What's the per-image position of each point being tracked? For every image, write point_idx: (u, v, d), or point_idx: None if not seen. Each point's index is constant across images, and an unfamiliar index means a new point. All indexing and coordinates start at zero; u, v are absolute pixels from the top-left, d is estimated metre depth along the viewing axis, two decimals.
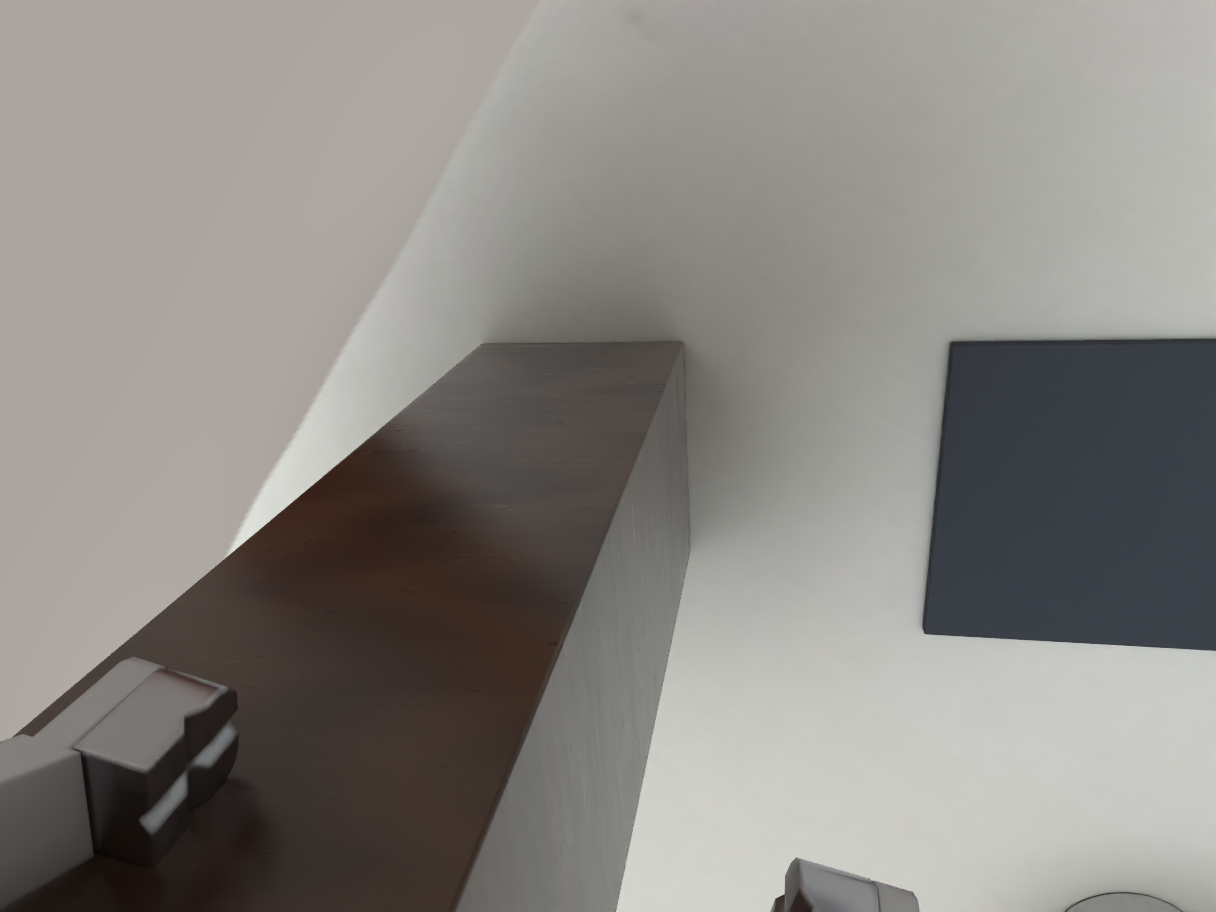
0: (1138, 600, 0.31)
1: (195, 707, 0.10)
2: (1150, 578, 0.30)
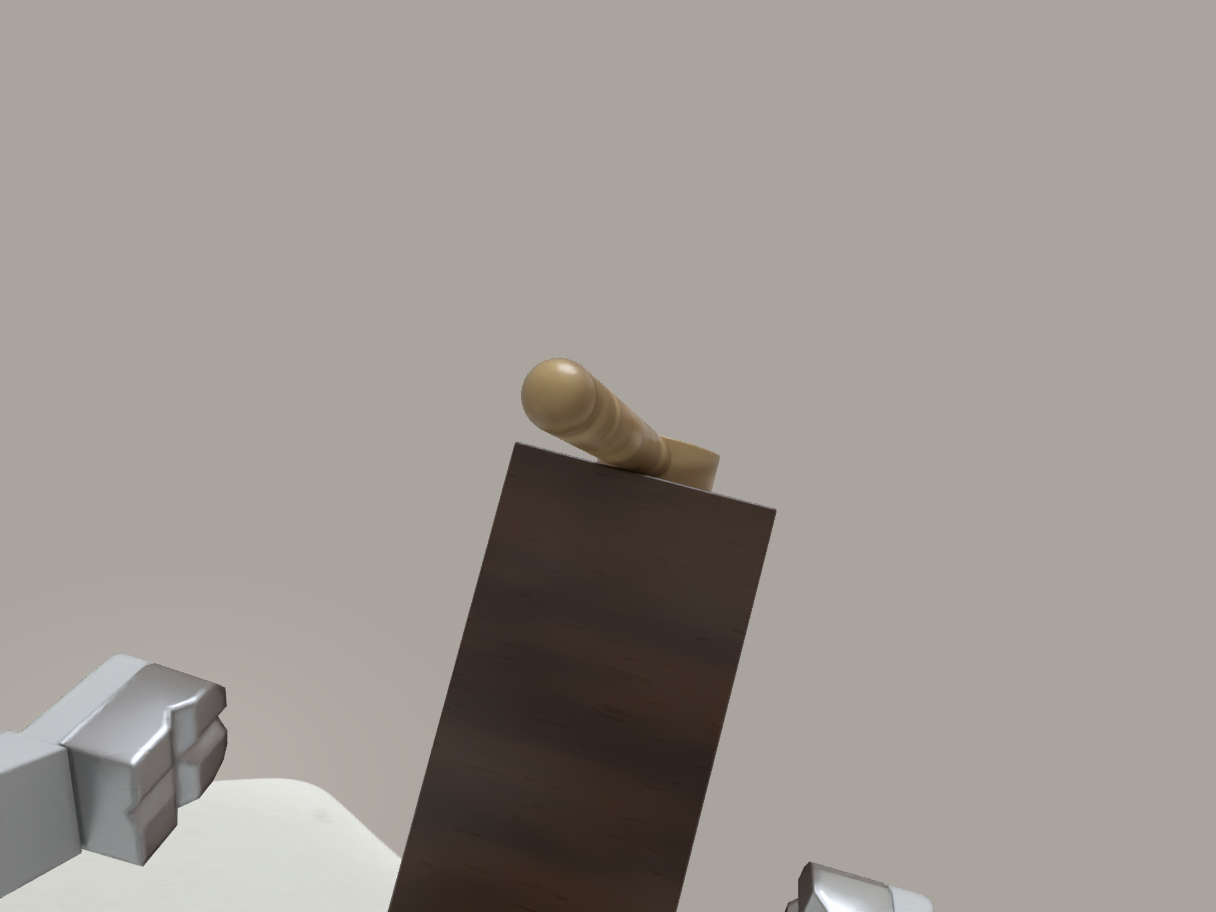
0: None
1: (182, 704, 0.10)
2: None
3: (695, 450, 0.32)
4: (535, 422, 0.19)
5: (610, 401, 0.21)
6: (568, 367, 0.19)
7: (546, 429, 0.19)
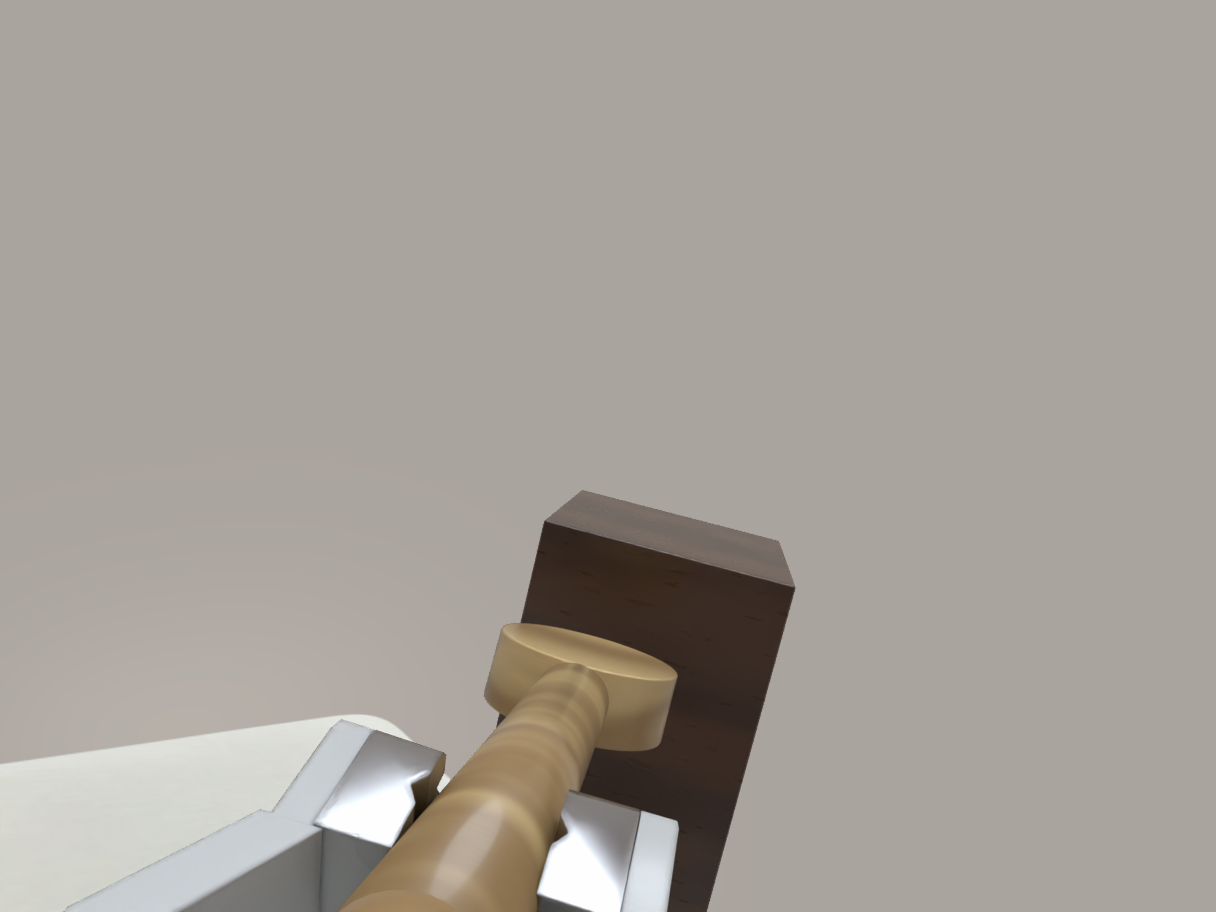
0: None
1: (419, 776, 0.10)
2: None
3: (646, 686, 0.20)
4: None
5: (531, 900, 0.09)
6: None
7: None
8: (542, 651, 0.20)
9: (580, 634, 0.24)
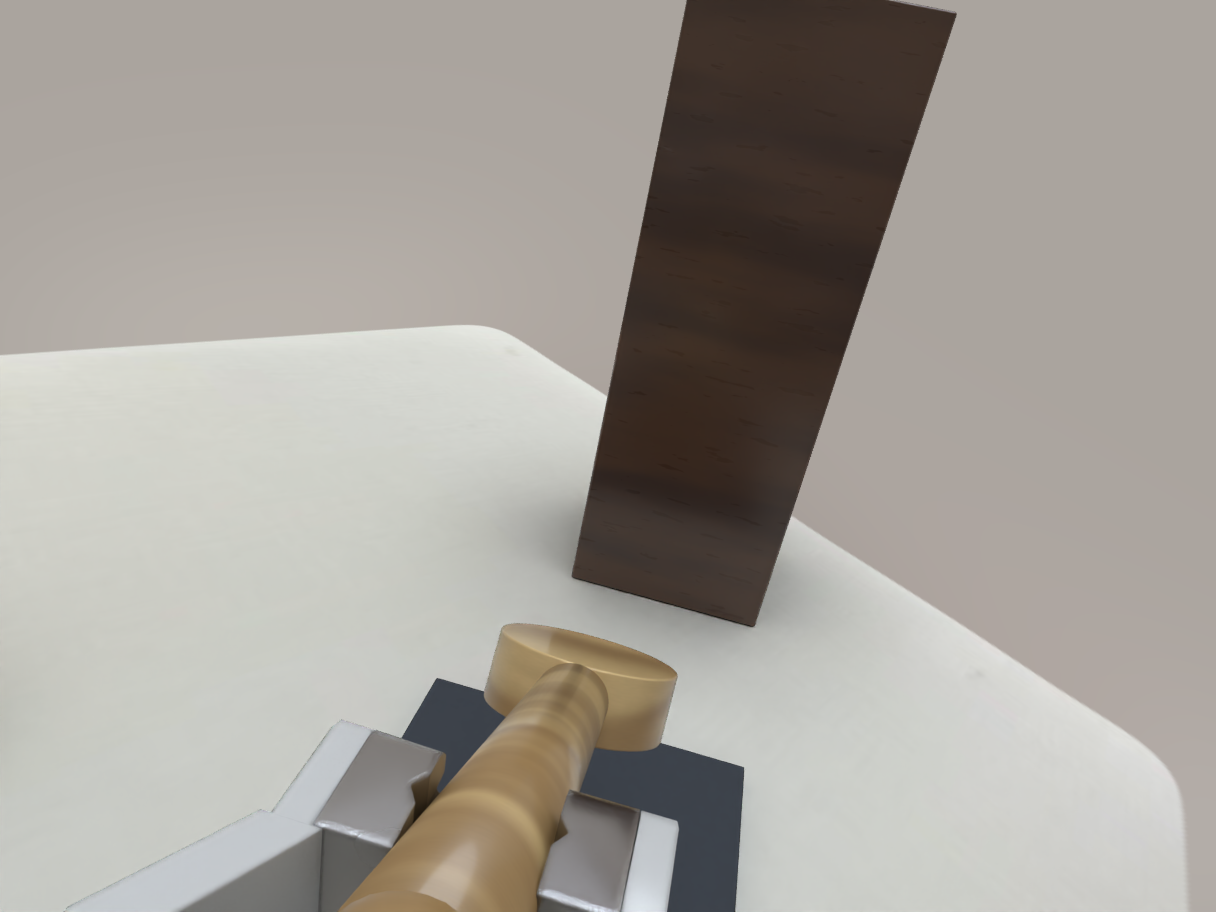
0: None
1: (419, 776, 0.10)
2: None
3: (645, 686, 0.20)
4: None
5: (531, 901, 0.09)
6: None
7: None
8: (542, 651, 0.20)
9: (580, 634, 0.24)
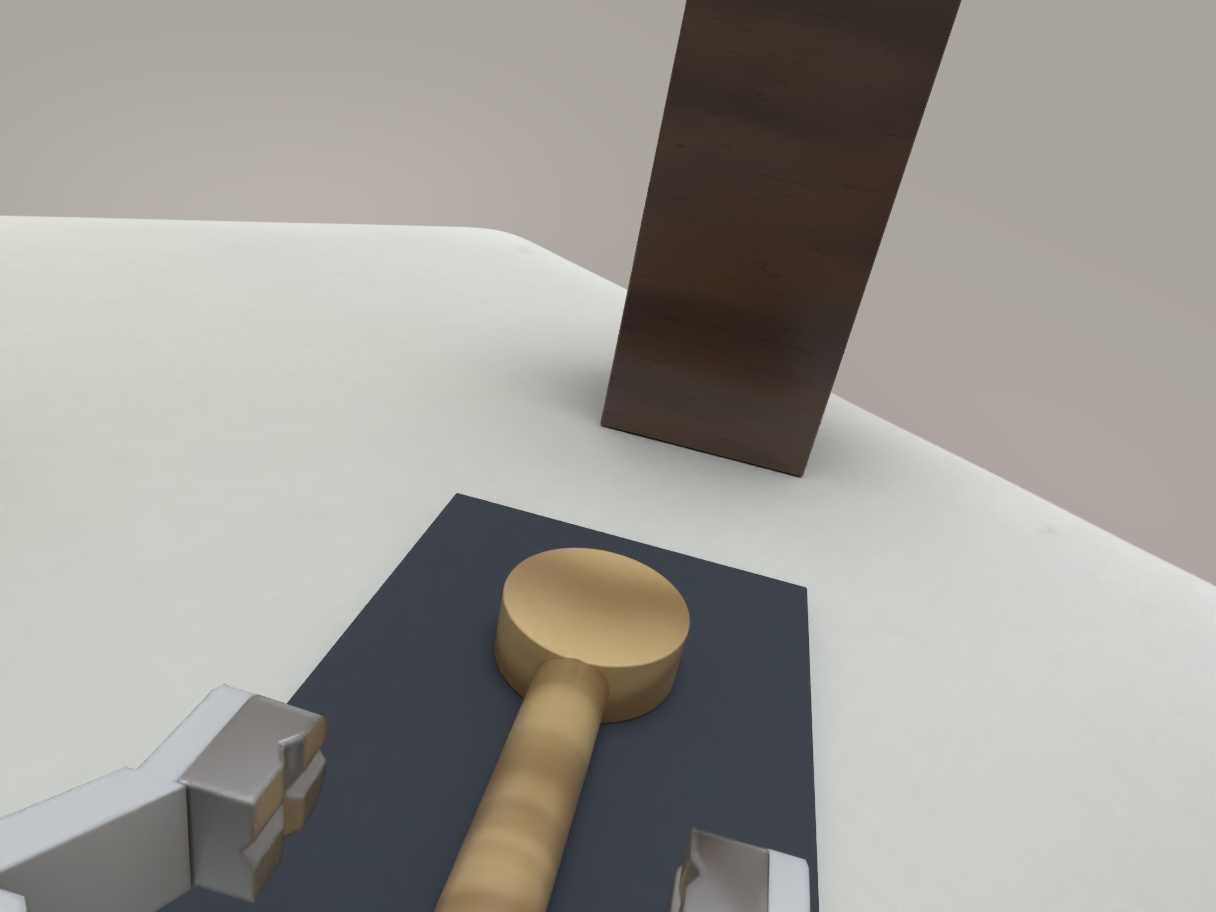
0: (428, 642, 0.21)
1: (292, 737, 0.10)
2: (461, 658, 0.21)
3: (648, 668, 0.19)
4: None
5: None
6: None
7: None
8: (538, 641, 0.19)
9: (595, 555, 0.23)
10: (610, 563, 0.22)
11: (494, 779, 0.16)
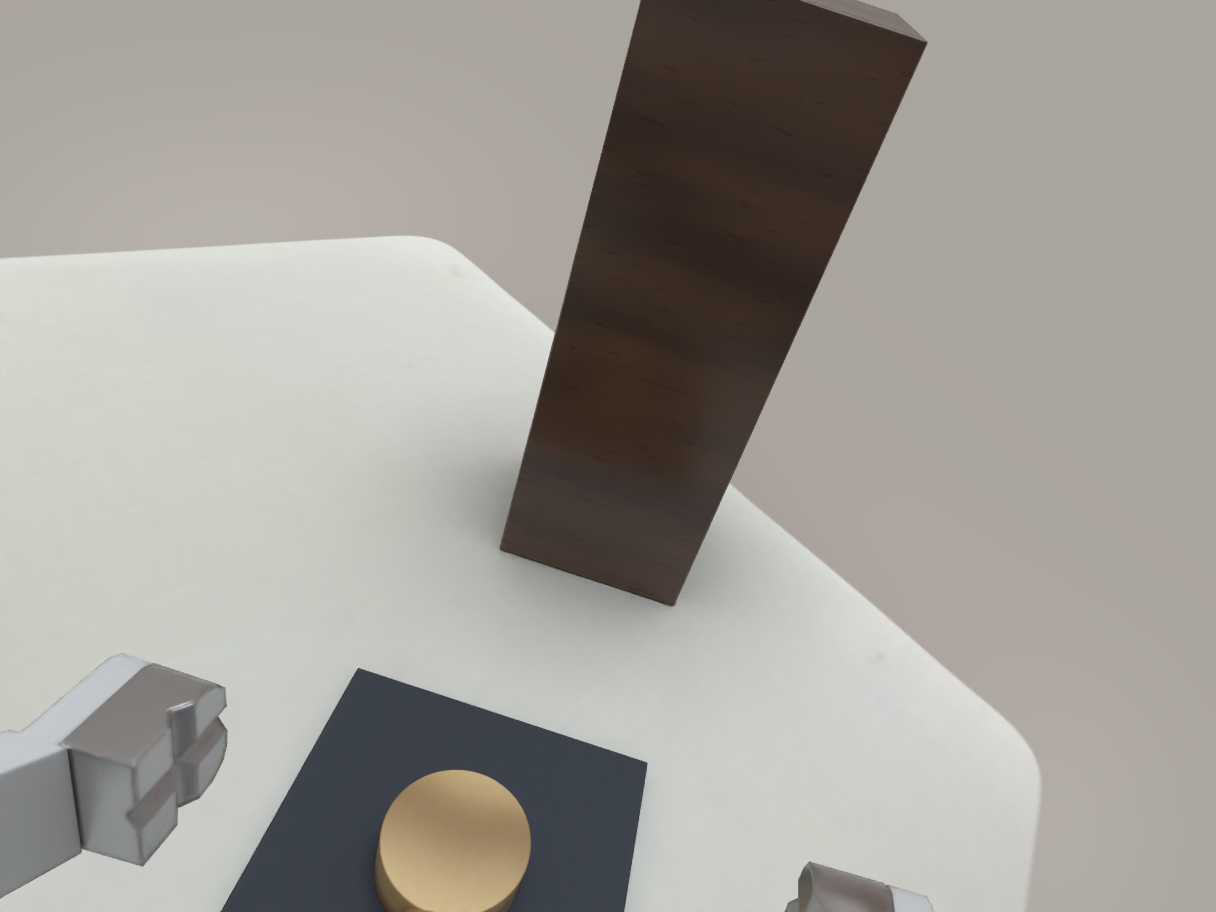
0: (321, 862, 0.26)
1: (182, 704, 0.10)
2: (346, 879, 0.26)
3: (489, 911, 0.25)
4: None
5: None
6: None
7: None
8: (403, 893, 0.25)
9: (462, 779, 0.28)
10: (474, 788, 0.28)
11: None
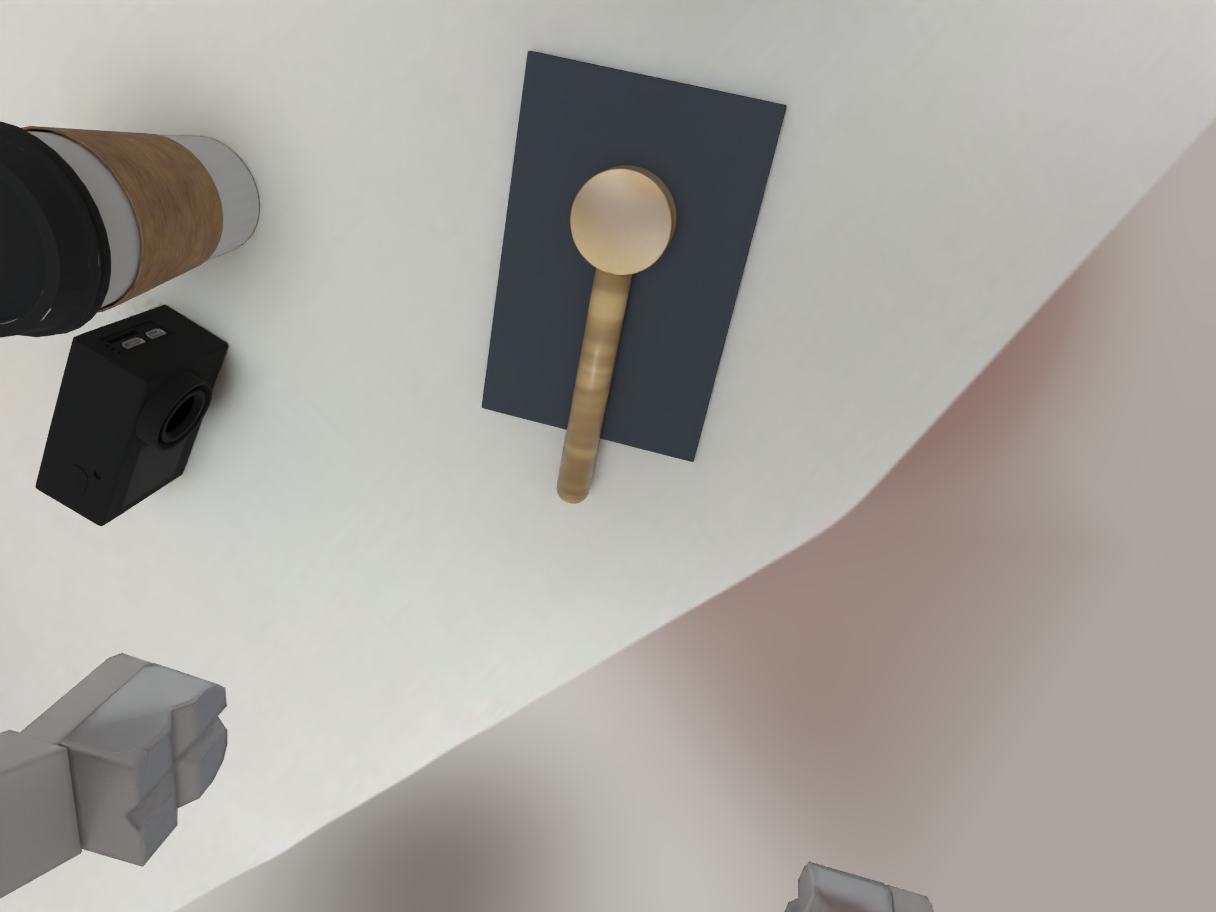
0: (546, 224, 0.41)
1: (182, 704, 0.10)
2: (564, 233, 0.41)
3: (647, 267, 0.39)
4: None
5: (591, 468, 0.44)
6: (572, 503, 0.45)
7: None
8: (592, 263, 0.39)
9: (618, 177, 0.37)
10: (627, 183, 0.37)
11: (585, 337, 0.41)
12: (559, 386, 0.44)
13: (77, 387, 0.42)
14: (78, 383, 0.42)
